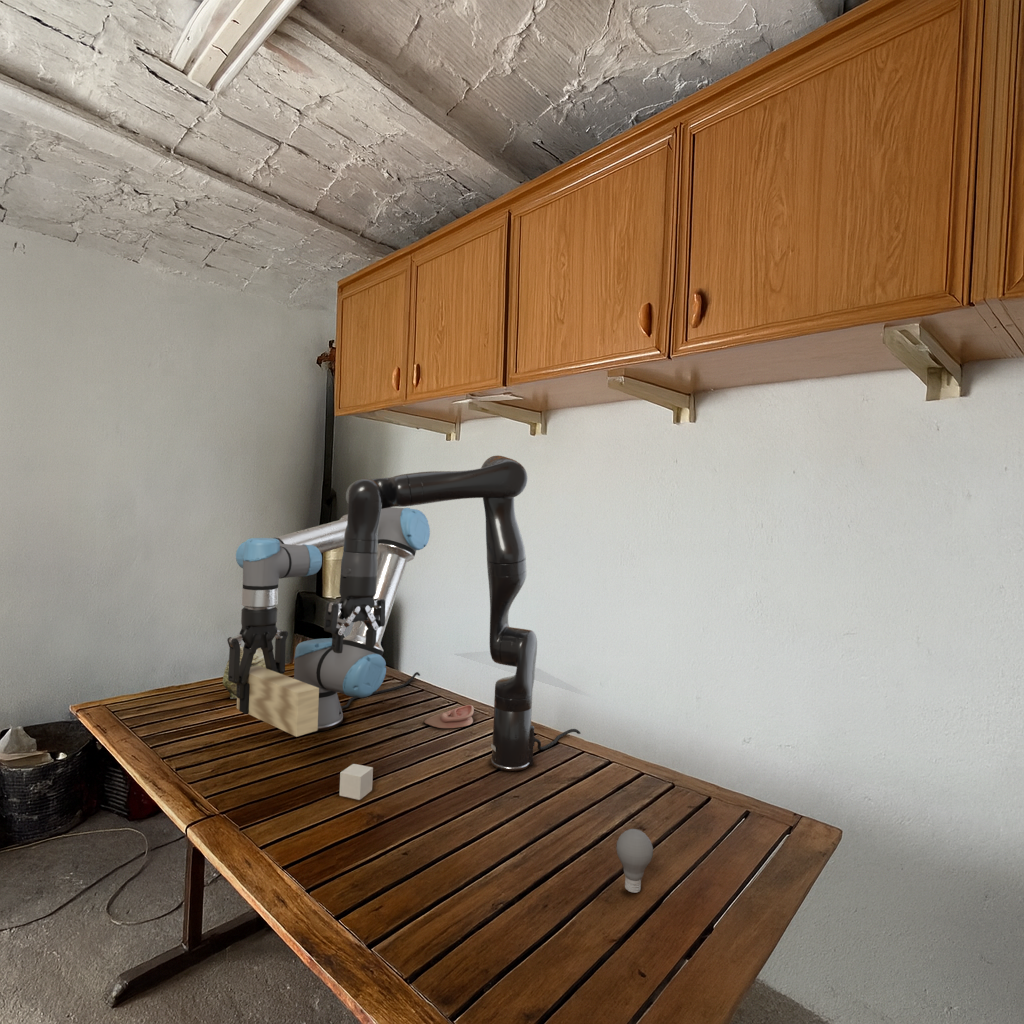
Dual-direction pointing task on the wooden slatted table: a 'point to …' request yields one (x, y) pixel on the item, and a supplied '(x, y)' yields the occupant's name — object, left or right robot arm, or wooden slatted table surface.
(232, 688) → the fossil
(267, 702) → the ash bar
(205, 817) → the wooden slatted table surface
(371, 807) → the wooden slatted table surface
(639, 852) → the light bulb
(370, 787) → the white cube
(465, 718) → the anatomical model
